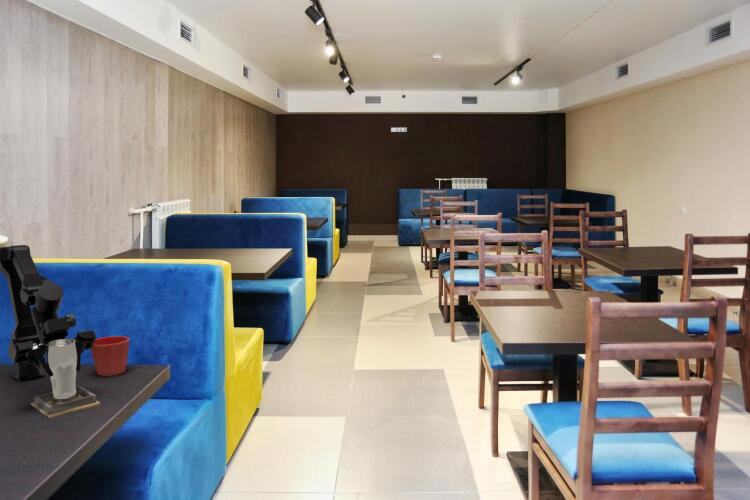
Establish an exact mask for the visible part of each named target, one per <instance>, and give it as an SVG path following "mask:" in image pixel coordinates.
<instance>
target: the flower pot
mask: <svg viewBox="0 0 750 500" xmlns="http://www.w3.org/2000/svg"><path fill="white" fill-rule="evenodd" d="M129 348H130V337H128V336H122V335H121V336H120V335H113V336H105V337H100V338H96V339H95V342H94V345H93V347H92V348H91V349H89V350H90V353H91V357H92V361H93V364H94V368H95V370H96V373H97V375H98V376H104V377H109V376H117V375H120V374H123V373H124V372H125V371H126V369H127V364H128V363H127V362H128V356H129Z"/></svg>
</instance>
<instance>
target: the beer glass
mask: <svg viewBox="0 0 750 500" xmlns="http://www.w3.org/2000/svg"><path fill="white" fill-rule="evenodd" d="M45 361H46V363H47V366H48V369H49V371H50V374H51V377H50V378H49V379H50V383H51V387H52V391H51V392H52V399H51V401H52V402H53V403H55V404H60V403H64V402H68V401H72V400H76V399H77V398H78V393H77V390H76V386H77V384H76V380H77V372H78V371H77V363H78V359H77V349H76V343H75V340H74V339H71V338H66V339H57V340H52V341H50V342H48V343H46V354H45Z"/></svg>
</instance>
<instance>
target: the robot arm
mask: <svg viewBox="0 0 750 500" xmlns="http://www.w3.org/2000/svg"><path fill="white" fill-rule="evenodd" d="M31 254H32V253H31V248H30V246H29V245H26V244H19V245H18V244H17V245H9V246H0V273H1V274H2V275H3V276H4V277H6V281H7V286H8V292H9V296H10V302H11V306H12V314H13V317H14V323H15V326H14V329H12V330H13V331H12V333H11V336H10V337H11V339H10V341H9V346H8V349H7V350H8V358H10V359H11V360H12V361H13V363H14V364H16V369H17V370H16V371H17V374H14V375H13V377H14V378H15V379H16V380H18V381H19V382H23V381H29V380H32V379H37V378H41V377H47V378H48V379H50V377H51V374H50V371H49V369H48V366H47V363H46V358H45V356H46V343H48V342H50V341H52V340H57V339H67V337H68V336H69V332H68V331H69V330H70V329H71V328H74V327H75V326H76V325H77V320H76V316H75V315H74V313H70V314H66V315H65V316H64V317H60V316H59V314H58V310H59V309H60V307H61V305H62V301H63V296H64V294H65V293H64V292H65V291H64V288H63V287H62V286H61V285H59V284H57V283H54V282H52V281H53V280H52V279H48V278H47V277H45V276H43V275H41V274H40V272H39V271H38V268H37V266H36V264H35V262H34V260H33V257H32V255H31ZM31 306H33V307H31ZM70 339H74V340H75V343H76V349H77V359H78V363H77V372H80V371H81V358H82V357H81V356H82V354H83V353H84V352H85V351H86V350H90V349H91V348H92V347H93V345H94V342H95V339H97V334H96V332H95V331H94V330H92V329H88V330H81V331H77V332H76V335H75V337H71V338H70ZM44 355H45V356H44Z"/></svg>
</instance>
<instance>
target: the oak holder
mask: <svg viewBox="0 0 750 500" xmlns="http://www.w3.org/2000/svg"><path fill="white" fill-rule="evenodd" d="M76 390H77V393H78V398H77V399H76V400H72V401H68V402H64V403H60V404H55V403H53V402H52V401H51V399H52V391H51V392H48V393H43V394H40V395H35V396H33V401H32V402H30V406H32V407H33V408H34V409H36V410H37V411H38V412H40V413H41V414H42V415H44V416H45V417H46V418H47V419H49V420H50V419H55V418H60V417H62V416H65V415H69V414H73V413H77V412H80V411H84V410H87V409H91V408H95V407H98V406H101V404H102V403H101V402H100V401H98V400H97V394H95V393H93V392H91V391H89V390H88V389H86V388H84V387H83V386H82V385H76Z"/></svg>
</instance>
